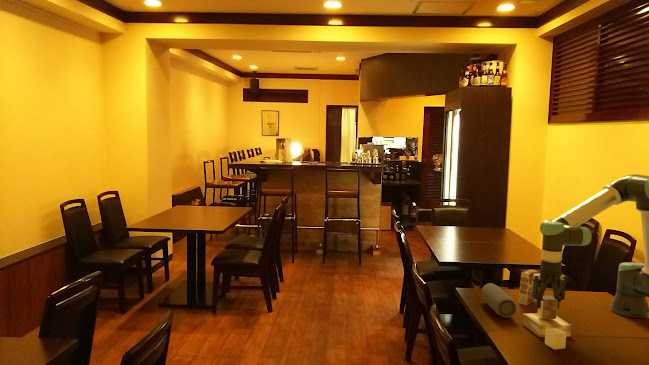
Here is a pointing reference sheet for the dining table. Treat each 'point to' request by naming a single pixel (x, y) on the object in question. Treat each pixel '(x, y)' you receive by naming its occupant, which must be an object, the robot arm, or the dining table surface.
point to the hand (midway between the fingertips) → (546, 315)
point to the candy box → (526, 287)
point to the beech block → (544, 324)
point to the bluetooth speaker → (498, 300)
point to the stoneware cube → (555, 338)
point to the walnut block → (549, 307)
